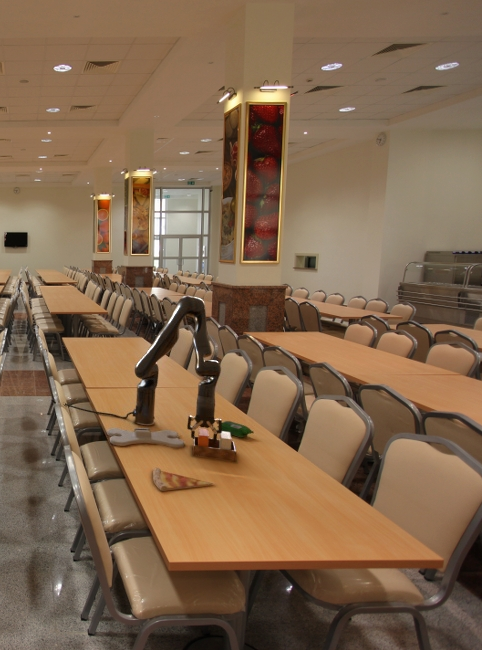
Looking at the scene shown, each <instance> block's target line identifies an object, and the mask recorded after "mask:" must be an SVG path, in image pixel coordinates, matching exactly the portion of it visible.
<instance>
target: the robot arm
mask: <svg viewBox="0 0 482 650" xmlns="http://www.w3.org/2000/svg"><path fill="white" fill-rule="evenodd" d="M185 317H191V318H193V321H194V324H195V327H194V331H193V333H192V338H191V339H192V340H191V341H192V346H193V350H194V353H195V354H194V355H195V356H194V357H195V360H194V371H195V373H196V375H197V376H198V377H201V378H207V379H204V380H201V381H199V382H198V384H197V385H198V386H197V387H198V388H197V396H196V408H195V409H196V410H195V416H193V415H191V414H188V416H187V425H186V428H187V430H190V431H191V432H190V438H191V439H192V440H193V439H194V437H195V436H196V434H195V433H196V430H197V429H199V427H200V428H204V429H210V430H211V431H212V432H213V434H212V439H213V442H215V441H216V440H217V439H218V434H220V433H222V423H223V421H222V418H215V411H216V410H215V409H216V387H217V384H218V382H219V378H220V376H221V373H222V366H221V364H220V362H219V361H217V360H205V358H209V357H211V356H212V355H213V350H212V346H211V342H210V339H209V334H208V324H207V313H206V305H205V302H204V301H203V299H201V298H200V297H196V296H190V295H183V296H182V297H180V298H179V299H178V301H177V303H176V305H175V307H174V308H173V310H172V312H171V314H170V316H169V318H168V319H167V321H166V323H165V324H164V326H163V327H162V329H160V331H159V333H158V334H157V335H156V337H155V338H154V340H153V342H152V343H151V344H150V346H149V347H148V349H147V351H146V352H145V354H143V356H142V357H141V358H140V359H139V360H138V361H137V363H136V364H135V366H134V374H135V376H136V378H138V379H140V382H139V383H137V385H136V401H135V408H133V410H132V411H131V412H128V413H127V414H126V416H120V415H117V414H114V413H109V412H101V411H95V410H91V409H87V408H82V407H79V406H74V405H72V404H69V403H66V402H64V403H65V405H64V406H67V407H70V408H72V409H76V410H79V411H82V412H88V413H93V414H98V415H103V416H104V415H105V416H111V417H115V418H119V419H124V420H125V419H128V418H129V416H130V415H132V417H134V424H138V425H141V426H147V427H148V426H153V425H154V424H155V422H154V421H155V407H156V390H157V387H158V381H159V371H160V370H159V365H158V362H159V361H160V360H161V359H162V358H163V357H165V356H166V355H168V353H169V352H170V351H172V350H173V348H174V347H175V345H176V344H177V343H178V341H179V339H180V327H181V326H180V325H181V323H182V322H183V320H184V319H185ZM54 400H55V399H51V402H54ZM193 421H195V423H194V424H193V425H192V422H193ZM215 423H216V424H217V426H218V427H217V429H216V427H215V426H214V424H215Z"/></svg>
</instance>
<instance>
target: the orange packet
mask: <svg viewBox="0 0 482 650" xmlns="http://www.w3.org/2000/svg"><path fill="white" fill-rule="evenodd" d="M197 432H198V433H197V434H198V435H197V437H198V446H204V447H208V442H209V438H210V435H209V428H201V427H200V428H199V427H198V431H197Z"/></svg>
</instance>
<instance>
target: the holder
mask: <svg viewBox="0 0 482 650" xmlns="http://www.w3.org/2000/svg"><path fill="white" fill-rule="evenodd" d="M106 434H107V436H109V437H110V438H109V442H110V444H112V445H114V446H117V447H126V446H129V445H130V446H131V445H136V444H138V445H139V444H148V445H149V444H150V445H151V444H152V445H162V446H166V447H169V448H173V449H174V448H175V449H180V448H181V449H182V448H184V447H185V445H186V444H185V441H184V440H182V439H180V438H179V433H178V432H176V431H175V430H171V429H162V430H158V431H151V430H150V428H149V427H148V428H147V427H146V428H145V427H136V428H134V430H127V429H122V428H118V427H111V428H108V429H107V430H106Z"/></svg>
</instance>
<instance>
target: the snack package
mask: <svg viewBox="0 0 482 650" xmlns="http://www.w3.org/2000/svg"><path fill="white" fill-rule="evenodd" d="M216 427H217V428H218V425H217V426H216ZM222 431H224V432H230V435H231V436H234V437H237V438H244V437H247V436H248V435H251V434H254V433H255V432H254V430H252V429H251V428H250V427H248V426H247V425H244V424H241V423H238V422H235V421H231V420H225V421H222Z"/></svg>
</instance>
